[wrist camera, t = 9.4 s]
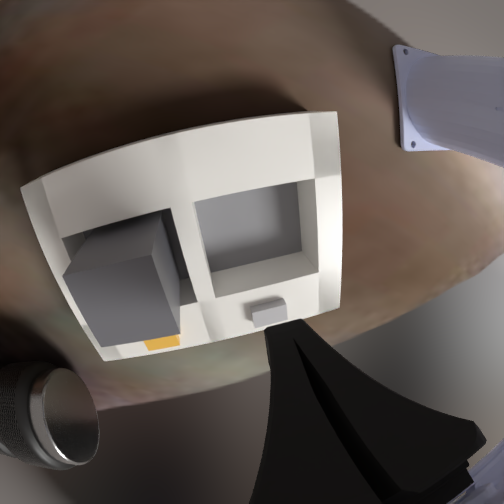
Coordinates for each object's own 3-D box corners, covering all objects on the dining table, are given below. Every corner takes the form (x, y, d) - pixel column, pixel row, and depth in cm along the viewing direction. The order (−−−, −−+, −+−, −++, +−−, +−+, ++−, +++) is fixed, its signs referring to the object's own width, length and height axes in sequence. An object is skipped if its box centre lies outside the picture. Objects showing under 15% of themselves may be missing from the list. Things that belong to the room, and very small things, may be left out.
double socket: (308, 110, 15) (342, 112, 11) (318, 279, 21) (343, 313, 17) (48, 172, 13) (14, 191, 9) (111, 327, 19) (103, 367, 15)
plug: (163, 204, 15) (151, 254, 10) (179, 266, 17) (180, 334, 12) (98, 221, 14) (62, 276, 9) (120, 279, 16) (101, 347, 11)
